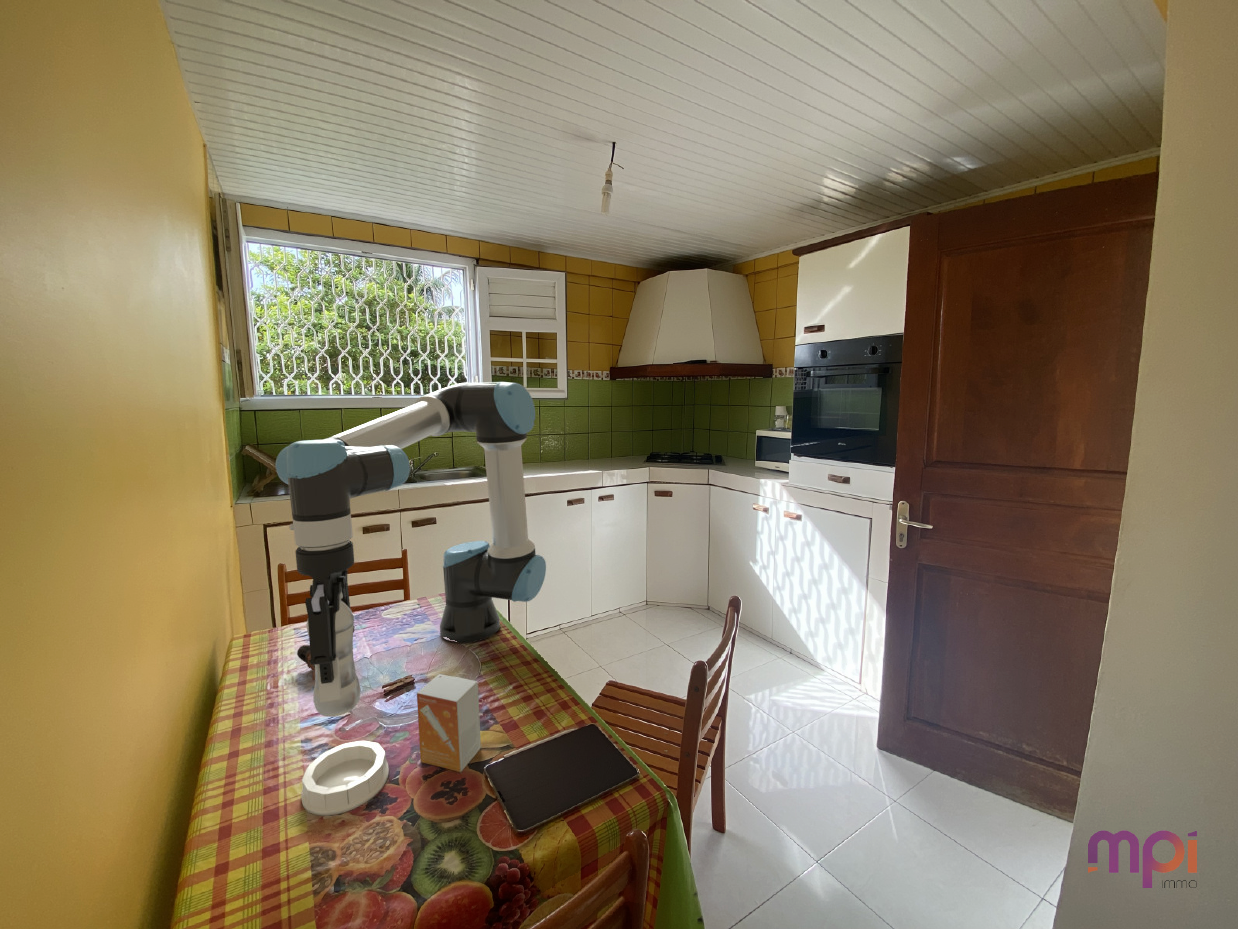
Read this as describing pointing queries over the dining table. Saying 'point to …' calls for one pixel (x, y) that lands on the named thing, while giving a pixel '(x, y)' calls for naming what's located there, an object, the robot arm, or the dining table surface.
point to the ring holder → (344, 778)
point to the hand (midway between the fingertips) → (337, 686)
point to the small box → (449, 722)
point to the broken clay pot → (306, 657)
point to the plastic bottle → (341, 667)
